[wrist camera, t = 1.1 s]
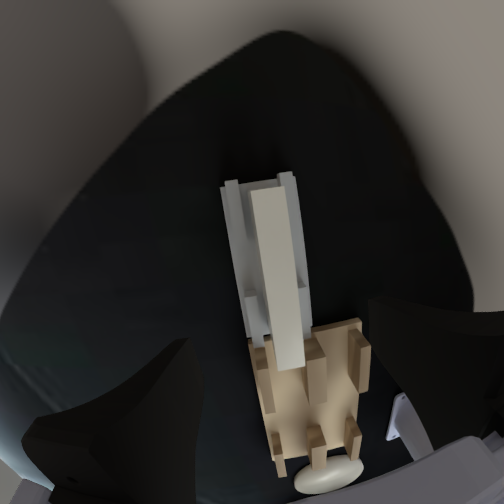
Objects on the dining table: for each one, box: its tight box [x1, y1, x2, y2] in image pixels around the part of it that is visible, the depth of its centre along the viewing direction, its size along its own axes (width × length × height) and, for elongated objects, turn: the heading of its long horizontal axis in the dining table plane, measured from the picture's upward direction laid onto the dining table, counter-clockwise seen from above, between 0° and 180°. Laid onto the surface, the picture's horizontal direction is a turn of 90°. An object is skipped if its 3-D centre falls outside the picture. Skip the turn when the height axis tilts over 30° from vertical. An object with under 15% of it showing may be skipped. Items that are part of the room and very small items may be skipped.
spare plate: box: [294, 455, 363, 494], centre depth 26 cm, size 9×9×1 cm
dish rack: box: [248, 318, 371, 477], centre depth 21 cm, size 9×16×4 cm, turn 9°
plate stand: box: [220, 172, 312, 348], centre depth 19 cm, size 5×12×2 cm, turn 9°
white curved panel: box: [247, 186, 305, 371], centre depth 17 cm, size 2×10×6 cm, turn 9°
